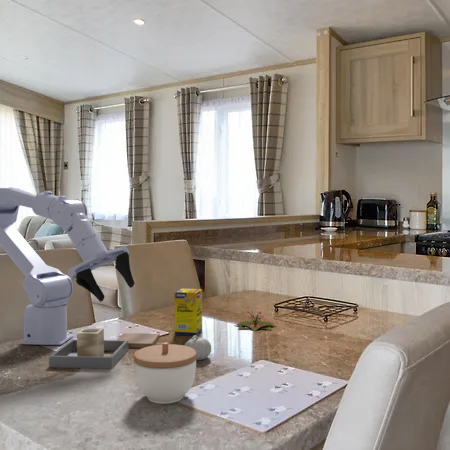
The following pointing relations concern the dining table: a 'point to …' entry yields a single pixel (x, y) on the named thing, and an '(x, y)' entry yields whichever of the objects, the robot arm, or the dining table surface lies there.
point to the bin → (66, 361)
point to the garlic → (200, 347)
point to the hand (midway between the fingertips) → (117, 292)
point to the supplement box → (188, 311)
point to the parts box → (90, 342)
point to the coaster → (139, 339)
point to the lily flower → (255, 323)
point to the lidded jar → (165, 371)
